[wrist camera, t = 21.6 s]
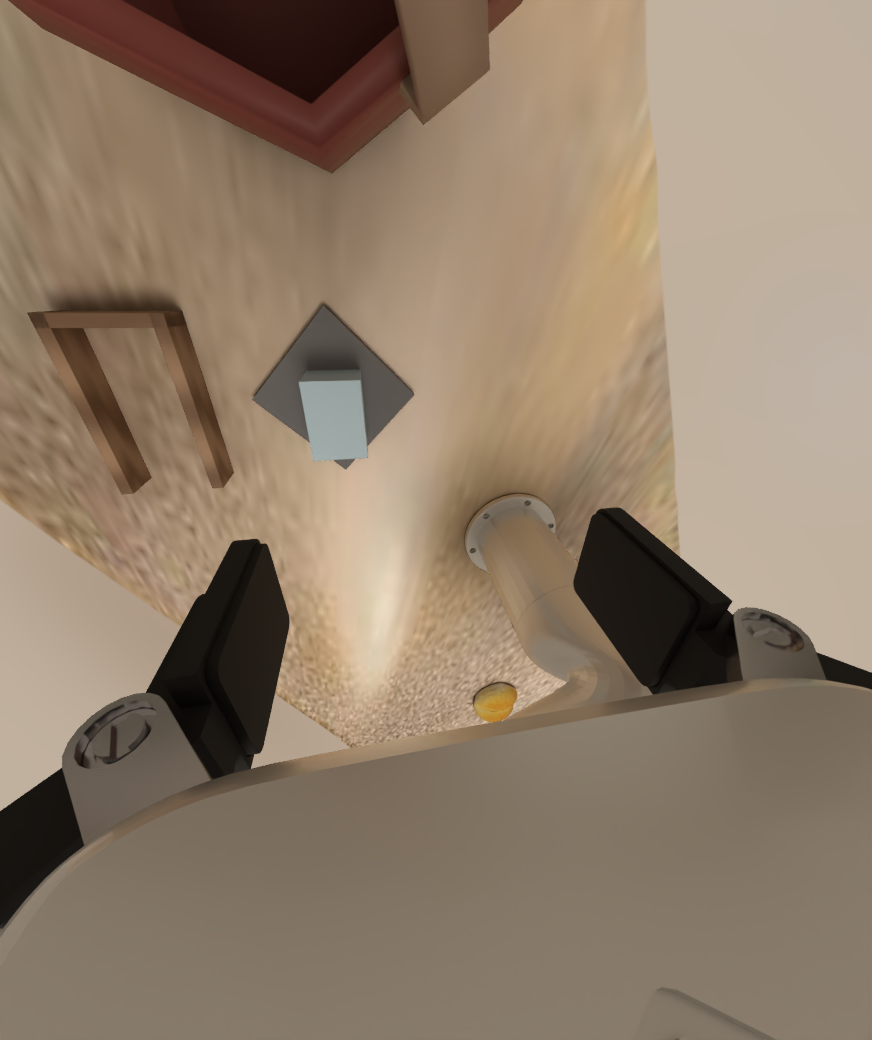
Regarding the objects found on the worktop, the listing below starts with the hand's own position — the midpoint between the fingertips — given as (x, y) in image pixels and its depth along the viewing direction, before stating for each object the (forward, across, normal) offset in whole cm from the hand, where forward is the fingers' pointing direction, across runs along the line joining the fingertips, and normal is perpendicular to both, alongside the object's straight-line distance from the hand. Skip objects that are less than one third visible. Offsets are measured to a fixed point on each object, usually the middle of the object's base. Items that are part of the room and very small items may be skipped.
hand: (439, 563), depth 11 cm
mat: (+30, +5, +2) cm, 31 cm away
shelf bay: (+30, +21, +3) cm, 37 cm away
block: (+30, +5, +3) cm, 30 cm away
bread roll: (+31, -17, +60) cm, 70 cm away
